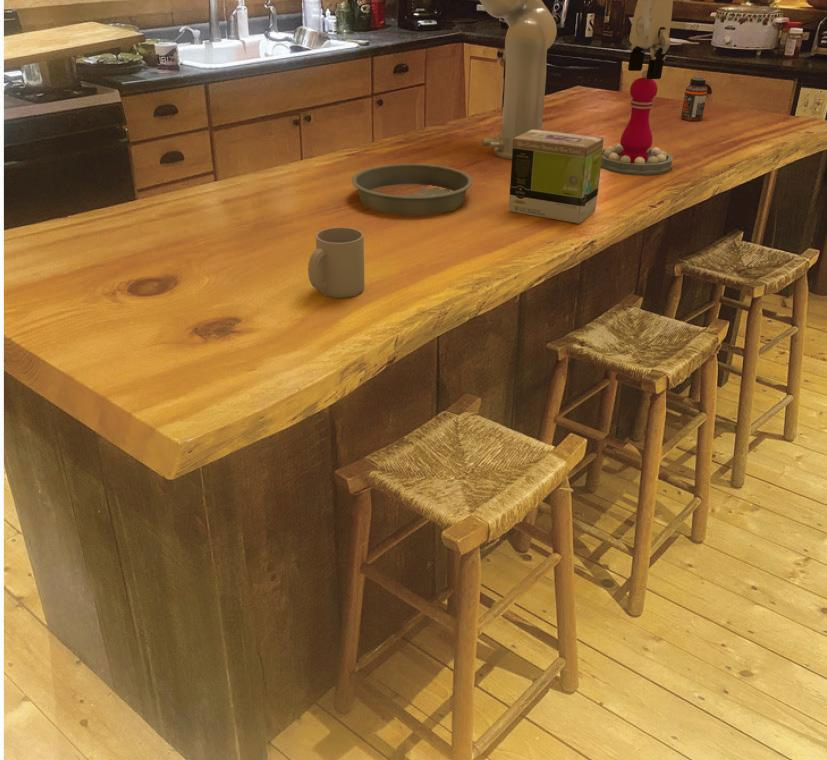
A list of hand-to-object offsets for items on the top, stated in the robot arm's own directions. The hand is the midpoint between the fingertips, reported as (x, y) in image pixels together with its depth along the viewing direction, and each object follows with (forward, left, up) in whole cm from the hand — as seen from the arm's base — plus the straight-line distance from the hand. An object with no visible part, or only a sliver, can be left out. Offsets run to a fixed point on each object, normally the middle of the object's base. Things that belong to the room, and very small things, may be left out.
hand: (643, 74), depth 186 cm
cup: (-77, -62, -21) cm, 101 cm away
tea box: (-30, -30, -21) cm, 47 cm away
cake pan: (-56, -17, -21) cm, 62 cm away
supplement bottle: (+38, +44, -21) cm, 61 cm away
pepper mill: (0, 0, -19) cm, 19 cm away
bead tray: (+1, 0, -20) cm, 20 cm away
